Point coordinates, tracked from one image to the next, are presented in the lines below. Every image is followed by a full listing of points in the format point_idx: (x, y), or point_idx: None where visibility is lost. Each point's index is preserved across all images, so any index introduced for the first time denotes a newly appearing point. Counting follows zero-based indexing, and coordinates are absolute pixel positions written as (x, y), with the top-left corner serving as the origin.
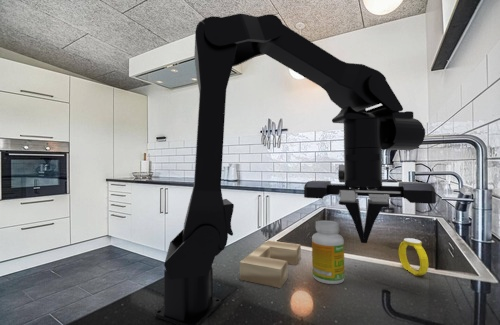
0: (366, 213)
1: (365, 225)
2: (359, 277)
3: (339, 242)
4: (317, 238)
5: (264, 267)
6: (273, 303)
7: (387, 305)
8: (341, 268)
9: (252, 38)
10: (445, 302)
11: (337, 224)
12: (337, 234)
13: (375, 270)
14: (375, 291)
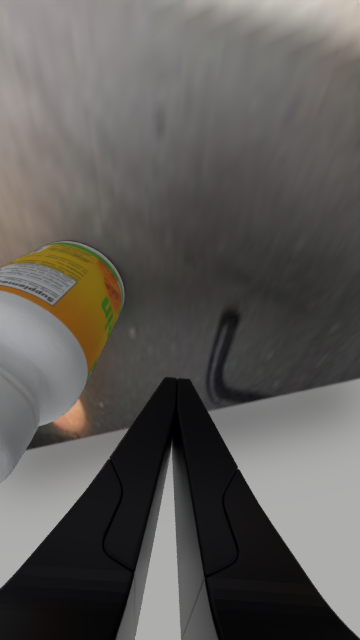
0: (190, 600)
1: (176, 524)
2: (170, 252)
3: (71, 407)
4: None
5: None
6: None
7: (216, 374)
8: (109, 335)
9: None
10: (354, 331)
11: (9, 470)
12: (40, 404)
13: (239, 156)
14: (203, 326)
